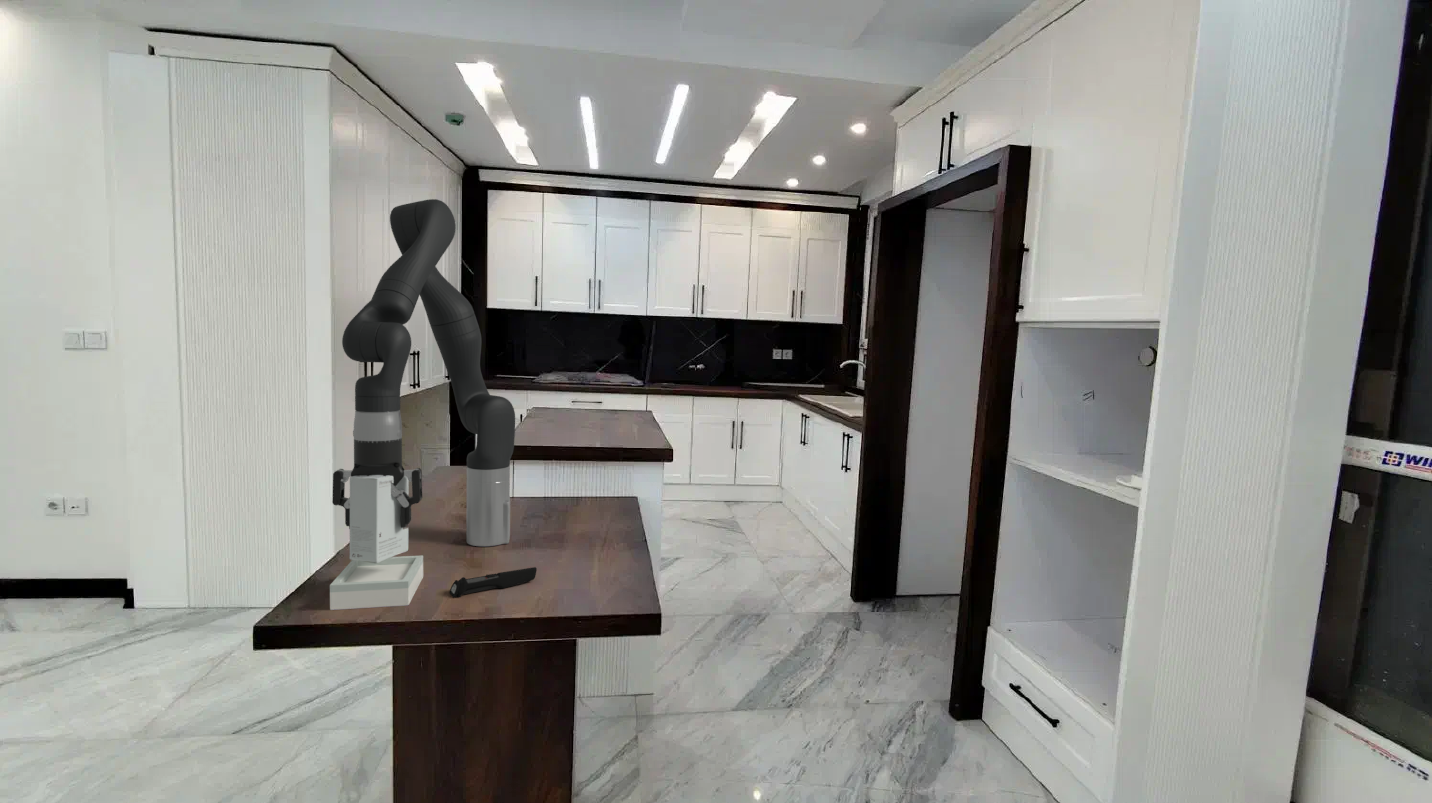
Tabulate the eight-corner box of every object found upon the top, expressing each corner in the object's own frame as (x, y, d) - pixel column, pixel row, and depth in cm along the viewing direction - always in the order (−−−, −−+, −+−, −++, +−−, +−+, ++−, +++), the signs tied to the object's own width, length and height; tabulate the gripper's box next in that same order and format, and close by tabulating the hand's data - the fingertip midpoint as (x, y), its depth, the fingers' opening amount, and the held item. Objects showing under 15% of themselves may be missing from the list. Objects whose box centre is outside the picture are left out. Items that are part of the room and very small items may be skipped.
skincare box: (376, 564, 113) (377, 479, 111) (347, 560, 114) (347, 476, 113) (410, 550, 121) (411, 470, 120) (382, 546, 122) (382, 467, 121)
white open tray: (423, 576, 126) (423, 555, 126) (408, 605, 112) (408, 581, 112) (353, 580, 123) (353, 558, 123) (330, 610, 109) (329, 585, 109)
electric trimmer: (539, 585, 125) (539, 569, 125) (453, 600, 116) (454, 583, 116) (532, 579, 128) (532, 563, 128) (448, 593, 119) (448, 576, 119)
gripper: (425, 433, 121) (425, 520, 122) (339, 433, 117) (340, 523, 119) (418, 439, 114) (418, 532, 115) (325, 439, 110) (326, 535, 111)
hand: (378, 527), depth 117 cm, fingers closed on skincare box, 8 cm apart
